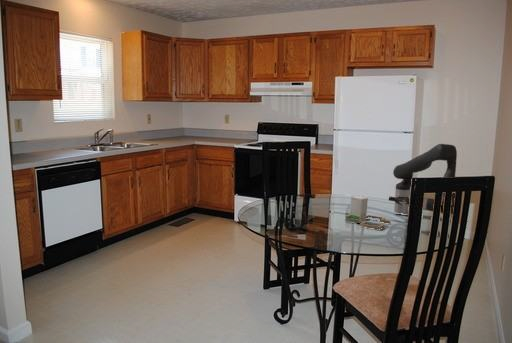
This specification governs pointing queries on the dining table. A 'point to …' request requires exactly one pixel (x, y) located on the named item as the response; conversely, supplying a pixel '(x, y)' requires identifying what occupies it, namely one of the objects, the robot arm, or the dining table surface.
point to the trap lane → (363, 223)
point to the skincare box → (358, 208)
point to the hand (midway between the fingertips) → (389, 198)
